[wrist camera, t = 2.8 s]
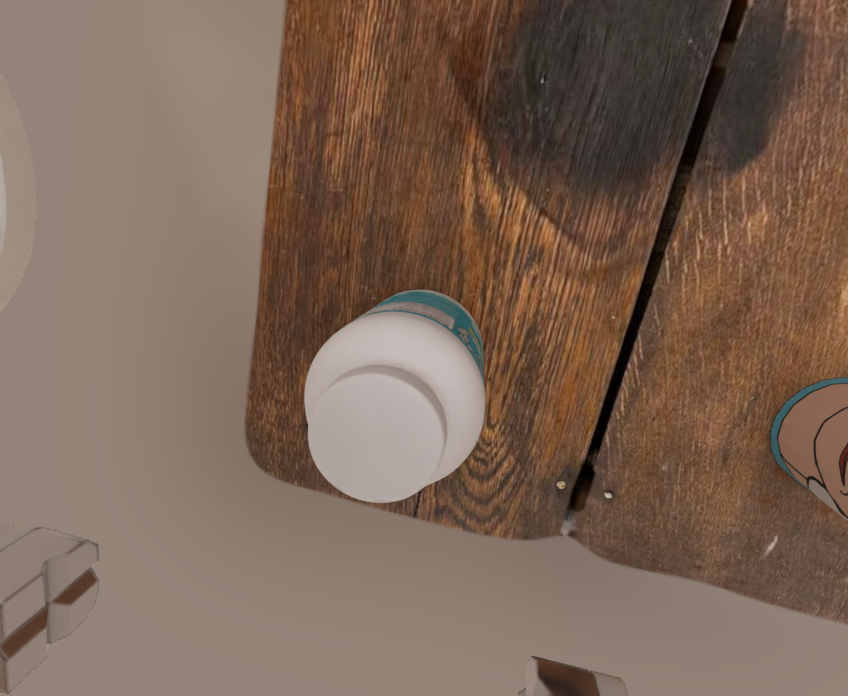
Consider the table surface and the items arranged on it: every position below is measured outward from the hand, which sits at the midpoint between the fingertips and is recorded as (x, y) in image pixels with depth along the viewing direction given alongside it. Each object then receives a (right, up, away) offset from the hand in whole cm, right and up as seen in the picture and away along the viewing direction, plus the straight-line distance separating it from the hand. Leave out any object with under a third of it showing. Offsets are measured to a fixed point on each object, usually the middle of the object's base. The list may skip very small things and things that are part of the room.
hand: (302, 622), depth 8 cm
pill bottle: (+2, +5, +20) cm, 21 cm away
